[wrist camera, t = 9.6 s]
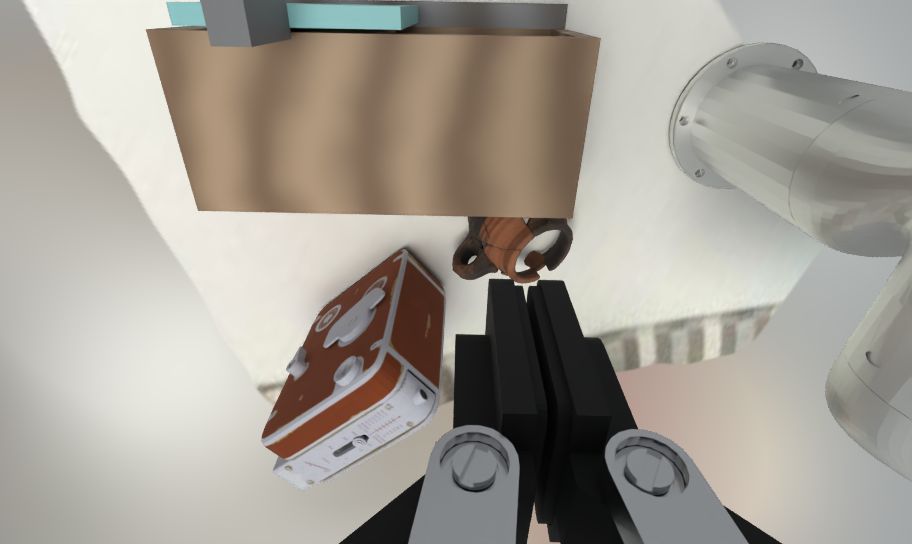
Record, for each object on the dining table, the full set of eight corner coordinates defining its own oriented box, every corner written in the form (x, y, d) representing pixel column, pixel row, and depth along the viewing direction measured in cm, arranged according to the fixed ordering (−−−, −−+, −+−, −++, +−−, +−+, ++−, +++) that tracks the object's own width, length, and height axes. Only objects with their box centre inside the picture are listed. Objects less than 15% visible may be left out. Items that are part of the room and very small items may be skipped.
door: (417, -3, 37) (383, -8, 21) (418, 30, 38) (387, 49, 22) (248, -7, 37) (89, -14, 21) (254, 27, 38) (108, 44, 22)
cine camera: (281, 325, 55) (197, 473, 37) (400, 232, 48) (366, 359, 31) (337, 370, 58) (284, 525, 41) (456, 289, 52) (452, 432, 35)
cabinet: (566, 4, 38) (606, 4, 27) (546, 168, 45) (572, 218, 34) (226, -3, 38) (135, -5, 27) (259, 162, 45) (198, 210, 34)
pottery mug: (517, 151, 44) (567, 197, 39) (544, 207, 52) (590, 252, 46) (420, 227, 45) (456, 282, 40) (460, 272, 53) (496, 323, 47)
